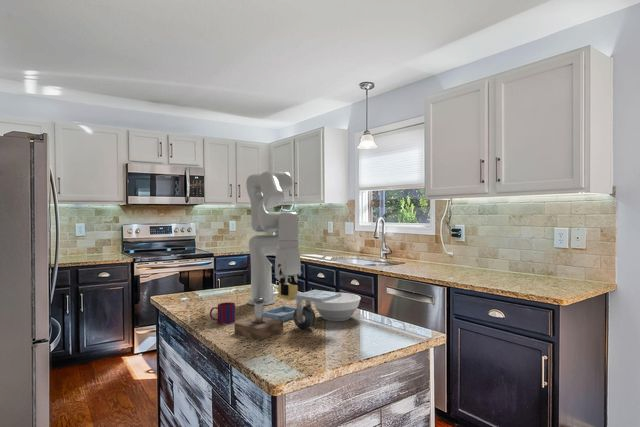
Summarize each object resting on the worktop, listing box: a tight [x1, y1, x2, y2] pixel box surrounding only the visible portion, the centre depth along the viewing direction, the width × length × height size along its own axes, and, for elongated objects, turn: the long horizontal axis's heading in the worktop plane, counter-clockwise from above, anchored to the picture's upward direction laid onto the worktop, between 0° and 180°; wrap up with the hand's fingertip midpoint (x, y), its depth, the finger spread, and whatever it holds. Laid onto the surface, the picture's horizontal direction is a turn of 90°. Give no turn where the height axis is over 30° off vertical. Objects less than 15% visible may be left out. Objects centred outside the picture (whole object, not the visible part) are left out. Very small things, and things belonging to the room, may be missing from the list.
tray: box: [263, 304, 296, 323], centre depth 165 cm, size 14×11×2 cm
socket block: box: [234, 317, 284, 340], centre depth 143 cm, size 12×12×4 cm
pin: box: [254, 297, 264, 325], centre depth 143 cm, size 4×4×12 cm
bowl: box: [312, 292, 362, 322], centre depth 162 cm, size 20×20×8 cm
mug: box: [209, 301, 236, 325], centre depth 157 cm, size 7×10×7 cm
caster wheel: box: [292, 289, 342, 331], centre depth 146 cm, size 12×16×13 cm
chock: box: [277, 282, 299, 301], centre depth 152 cm, size 4×6×5 cm, turn 53°
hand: (288, 293), depth 152 cm, fingers closed on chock, 4 cm apart
